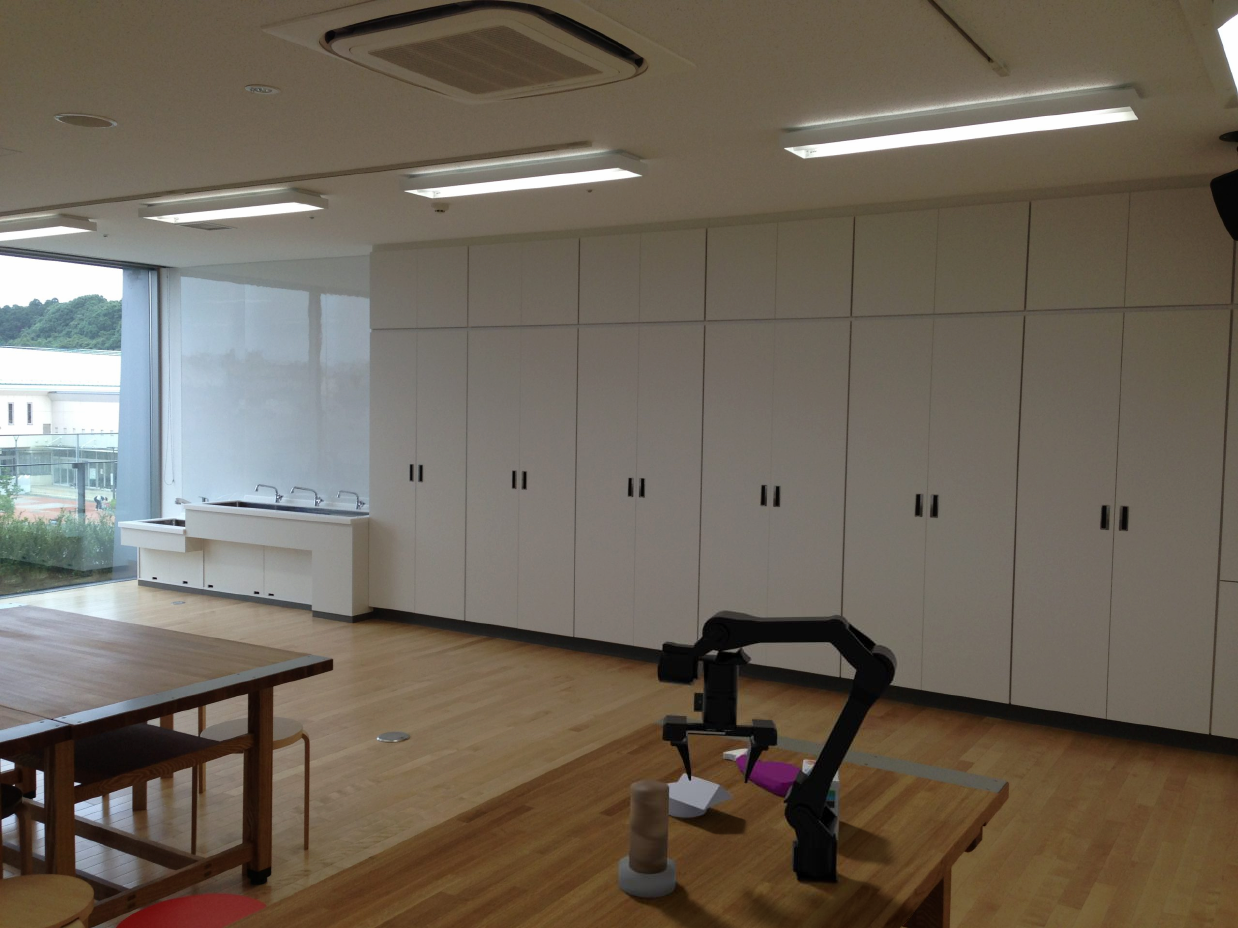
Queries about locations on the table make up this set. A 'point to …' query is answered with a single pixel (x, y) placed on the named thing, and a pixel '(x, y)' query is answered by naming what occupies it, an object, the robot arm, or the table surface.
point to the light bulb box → (833, 793)
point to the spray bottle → (766, 772)
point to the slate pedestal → (646, 880)
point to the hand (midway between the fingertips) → (717, 781)
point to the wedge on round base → (694, 796)
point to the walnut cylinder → (649, 827)
